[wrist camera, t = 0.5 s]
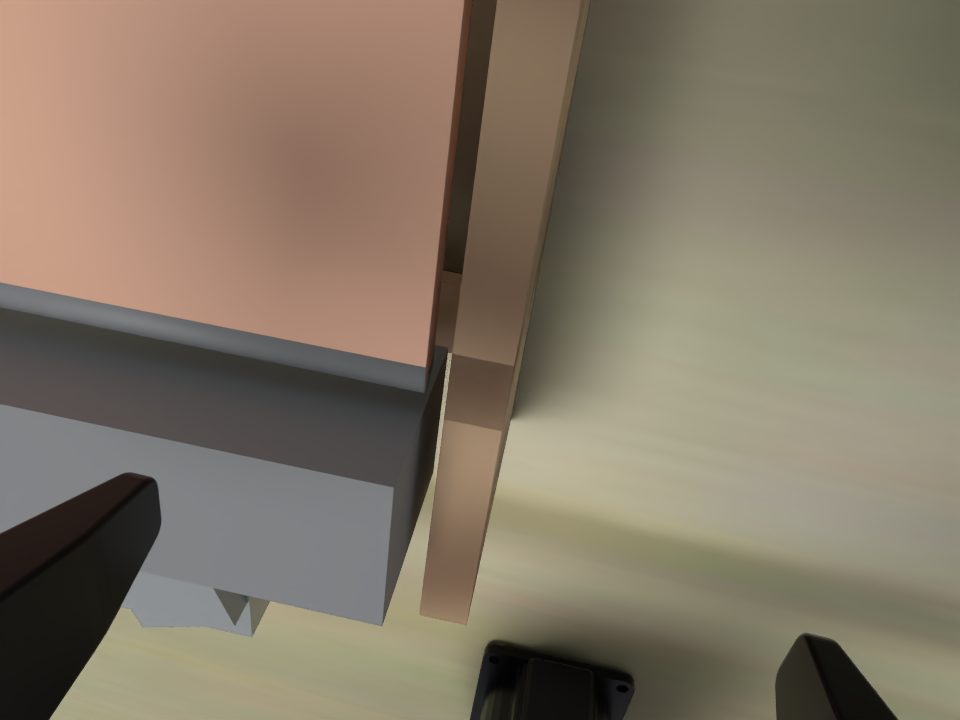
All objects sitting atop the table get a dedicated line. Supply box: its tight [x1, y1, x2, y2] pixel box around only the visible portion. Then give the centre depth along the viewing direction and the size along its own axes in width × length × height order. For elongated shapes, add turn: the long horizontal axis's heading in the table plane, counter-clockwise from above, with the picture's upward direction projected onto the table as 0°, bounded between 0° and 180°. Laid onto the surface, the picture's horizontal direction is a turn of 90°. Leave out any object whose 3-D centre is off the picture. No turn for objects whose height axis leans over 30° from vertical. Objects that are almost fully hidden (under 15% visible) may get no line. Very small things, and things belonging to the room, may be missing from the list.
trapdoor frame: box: [419, 0, 590, 625], centre depth 17 cm, size 18×17×8 cm
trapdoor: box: [0, 0, 473, 626], centre depth 14 cm, size 15×14×5 cm
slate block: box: [121, 571, 270, 637], centre depth 27 cm, size 5×5×6 cm
